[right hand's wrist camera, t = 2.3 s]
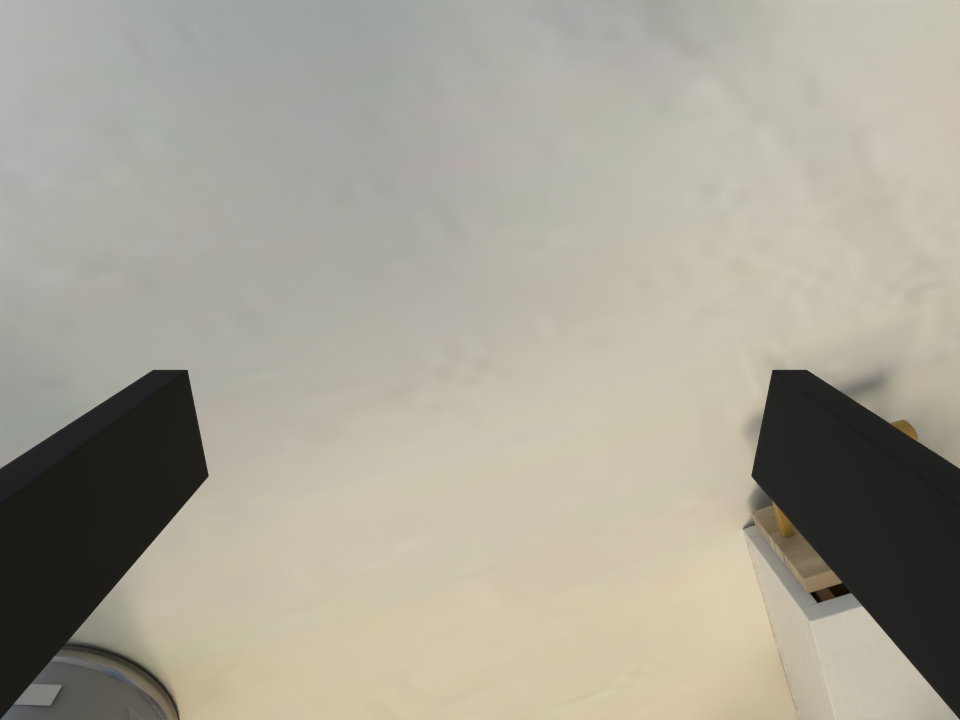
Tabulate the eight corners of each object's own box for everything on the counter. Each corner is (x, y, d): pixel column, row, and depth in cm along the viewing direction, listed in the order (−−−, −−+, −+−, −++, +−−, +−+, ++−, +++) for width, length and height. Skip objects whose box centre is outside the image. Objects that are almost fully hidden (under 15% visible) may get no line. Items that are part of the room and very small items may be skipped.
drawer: (732, 449, 36) (784, 507, 30) (880, 398, 35) (966, 447, 29) (803, 696, 44) (856, 783, 38) (926, 662, 43) (1001, 745, 37)
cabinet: (742, 528, 40) (809, 622, 32) (895, 479, 38) (1006, 563, 30) (797, 715, 46) (865, 832, 38) (929, 678, 45) (1028, 791, 37)
